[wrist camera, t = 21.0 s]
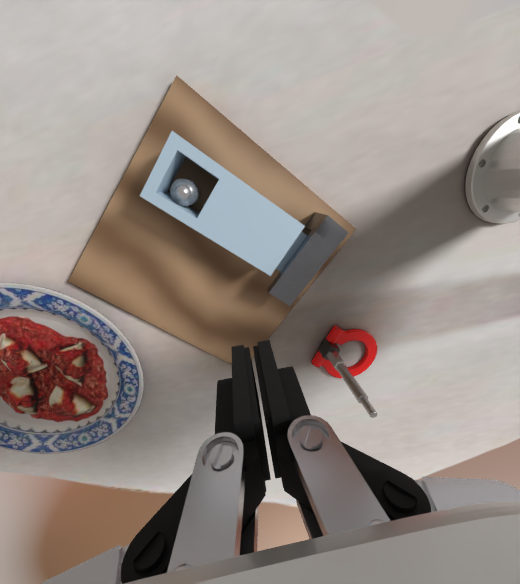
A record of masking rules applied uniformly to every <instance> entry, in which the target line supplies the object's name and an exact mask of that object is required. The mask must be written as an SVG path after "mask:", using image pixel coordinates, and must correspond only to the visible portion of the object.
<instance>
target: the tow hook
mask: <svg viewBox="0 0 520 584" xmlns="http://www.w3.org/2000/svg"><path fill="white" fill-rule="evenodd" d="M352 340H358V341H361V342H363V343H364V344H365V347H366V350H365V354H364V356H363V358H362V359H361V360H360V361H359V363H357V364H356V365H354V366H352V367H348V368H347V367H346V364H345V362H344V361H343V360H342V358H341V357H340V356H339V354H338V353H339V351H340V349H339V348H338V346H337V345H336V344H335V343H337V344H340V345H342V344H344V343H346V342H348V341H352ZM376 354H377V345H376V341H375V340H374V338H373V337H372V336H371V335H370V334H369V333H367V332H366V331H363V330H360V329H351V330H346V331H344V330H342V329H341V328H340V327H338V326H335V325H334V326H333V328H332V330H331V331H330V333H329V334H328V336H327V338H325V339H324V341H323V342H322V344H321V346H320V347H319V349H318V352H317V353H316V355H315V357H314V358H313V360H312V361H311V362H312V364H313V365H314V366H316V367H320V366H323V367H324V368H325V369H326V370H327V372H328V373H329V374H330V375H332V376H334V377H337V378H343V379H344V381H345V382H346V384H347V386H348V387H349V389H350V390H351V392H352V393H353V395H354V396H355V398H356V399H357V401H358V402H359V403H362V405H363V406H364V408H365V409H366V411H367V412H368V414H369V415H370V417H372V418H374V417H376V416H377V412H376V411H375V409H374V408H373V407H372V405H371V404H370V402H369V401H368V396H367V395H366V393H365V392H364V391H363V389H362V388H361V387H360V385H359V384H358V382H357V381H356V380H355V378H354V376H356V375H358V374H360V373H362V372H363V371H365V370H366V369H367V368H368V367H369V366H370V365H371V364H372V362H373V361H374V359H375V356H376Z"/></svg>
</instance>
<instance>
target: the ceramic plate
mask: <svg viewBox="0 0 520 584" xmlns="http://www.w3.org/2000/svg"><path fill="white" fill-rule="evenodd" d="M143 384H144V381H143V372H142V368H141V365H140V362H139V358H138V356H137V354H136V352H135V350H134V348H133V347H132V345H131V344H130V342H129V341H128V339H127V338H126V337H125V335H124V334H123V333H122V332H121V331H120V330H119V329H118V328H117V327H116V326H115V325H114V324H113V323H112V322H111V321H110V320H109V319H107V318H106V317H105V316H103V315H102V314H101V313H99V312H98V311H96V310H95V309H93V308H92V307H90V306H88V305H86V304H85V303H83V302H81V301H79V300H77V299H75V298H72V297H70V296H68V295H65V294H62V293H60V292H57V291H54V290H50V289H47V288H43V287H38V286H33V285H28V284H19V283H0V447H3V448H6V449H10V450H15V451H22V452H29V453H40V454H44V453H63V452H72V451H76V450H80V449H84V448H88V447H91V446H94V445H97V444H99V443H101V442H103V441H105V440H107V439H109V438H110V437H112V436H114V435H115V434H117V433H118V432H119V431H120V430H122V429H123V428H124V427H125V426H126V425H127V424H128V423H129V421H130V420H131V419H132V418H133V416H134V415H135V413H136V411H137V409H138V407H139V405H140V402H141V399H142V394H143Z"/></svg>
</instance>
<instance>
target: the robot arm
mask: <svg viewBox="0 0 520 584" xmlns="http://www.w3.org/2000/svg"><path fill="white" fill-rule="evenodd" d="M465 186H466V197H467V202H468V204H469V206H470V209H471V210H472V211H473V213H474V214H475V215H476V216H477V217H479V218H480V219H482V220H484V221H487V222H492V223H498V224H501V223H511V222H515V221H518V220H520V111H518V112H516V113H513V114H511V115H509V116H508V117H506V118H504V119H503V120H501V121H500V122H499V123H498V124H496V125H495V126H494V127H493V128H492V129H491V130H490V131H489V132H488V133H487V135H486V136H485V137H484V138H483V139H482V141H481V142H480V144H479V146H478V147H477V149H476V150H475V153H474V155H473V157H472V159H471V161H470V164H469V168H468V171H467V176H466V182H465ZM231 350H232V378H229V379H224V380H218V383H217V400H216V421H215V435H213V436H211V437H210V438H209V439H207V440H206V441H205V442H204V444H203V445H202V446H201V447H200V450H199V452H198V455H197V459H196V462H195V466H194V470H193V474H192V475H191V476H190V477H189V478H188V479H187V480H186V481H185V482H184V483H183V485H182V486H181V487H180V488H179V489H178V490H177V491H176V492H175V493H174V494H173V496H172V497H171V498H170V499H169V500H168V501H167V502H166V503H165V504H164V505H163V506H162V508H161V509H160V510H159V511H158V512H157V513H156V514H155V515H154V516H153V518H151V520H150V521H149V522H148V523H147V524H146V525H145V526H144V527H143V528H142V529H141V531H140V532H139V533H138V534H137V535H136V536H135V538H134V539H133V541H132V542H131V543H130V544H129V545H127V546H125V547H123V548H122V547H121V546H120V545H118V546H116V547H114V548H112V549H110V550H108V551H106V552H104V553H102V554H100V555H98V556H96V557H94V558H92V559H89V560H88V561H85V562H83V563H81V564H79V565H77V566H75V567H73V568H71V569H69V570H67V571H65V572H63V573H61V574H59V575H57V576H55V577H53V578H51V579H49V580H47V581H45V582H43V583H41V584H520V491H519V490H518V489H516V488H515V487H513V486H511V485H509V484H506V483H504V482H501V481H496V480H489V479H462V478H437V477H423V479H422V481H418V480H413V479H412V478H410V477H409V476H407V475H405V474H404V473H402V472H400V471H398V470H396V469H394V468H392V467H390V466H388V465H386V464H384V463H382V462H380V461H378V460H376V459H374V458H372V457H370V456H368V455H366V454H364V453H362V452H360V451H358V450H356V449H354V448H352V447H350V446H348V445H347V444H345V443H343V442H341V441H340V440H339V439H338V437H337V435H336V434H335V432H334V431H333V429H332V427H331V426H330V425H329V424H328V423H327V422H326V421H325V420H323V419H322V418H320V417H317V416H312V415H311V414H310V412H309V409H308V406H307V403H306V401H305V398H304V395H303V393H302V390H301V387H300V385H299V382H298V379H297V377H296V374H295V371H294V369H293V367H286V368H281V369H277V366H276V362H275V359H274V355H273V352H272V348H271V345H270V341H269V340H266V341H260V342H257V346H253V350H254V356H255V362H256V368H257V374H258V380H259V386H260V392H261V398H262V404H263V410H264V416H265V422H266V428H267V433H268V439H269V445H270V450H271V456H272V462H273V467H274V473H275V478H280V477H281V478H282V483H283V488H284V491H285V492H287V493H288V494H290V495H291V496H292V497H294V498H295V499H296V501H297V506H298V508H299V511H300V514H301V517H302V519H303V522H304V525H305V527H306V530H307V533H308V535H309V540H305V541H301V542H296V543H292V544H288V545H283V546H279V547H275V548H271V549H266V550H262V551H258V552H257V536H258V506H259V504H260V503H261V501H262V499H263V498H264V496H265V492H266V486H265V481H266V480H271V479H270V472H269V465H268V459H267V452H266V445H265V439H264V432H263V425H262V419H261V412H260V406H259V399H258V393H257V388H256V382H255V377H254V371H253V366H252V360H251V355H250V349H249V347H246V348H244V345H238V346H233V347H231Z"/></svg>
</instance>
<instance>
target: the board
mask: <svg viewBox="0 0 520 584" xmlns="http://www.w3.org/2000/svg"><path fill="white" fill-rule="evenodd" d="M171 131H173V132H175V133H176V134H177V135H179V136H180V137H182V138H183V139H184V140H186V141H187V142H189V143H190V144H191V145H193V146H194V147H196V148H197V149H198V150H200V151H201V152H203V153H204V154H205V155H207V156H208V157H210V158H211V159H212V160H214V161H215V162H216V163H218V164H219V165H221V166H222V167H223V168H225V169H226V170H228V171H229V172H230V173H232V174H233V175H235V176H236V177H237V178H239V179H240V180H242V181H243V182H244V183H246V184H247V185H249V186H250V187H251V188H253V189H254V190H255V191H257V192H258V193H260V194H261V195H262V196H264V197H265V198H267V199H268V200H269V201H271V202H272V203H274V204H275V205H276V206H278V207H279V208H281V209H282V210H283V211H285V212H286V213H288V214H289V215H290V216H292V217H293V218H294V219H296V220H297V221H299V222H300V223H301V224H303V225H304V226H305V224H306V223H307V222H308V220H309V219H310V217H311V216H312V215H313V213H314V212H317V213H321V214H325V215H328V216H329V217H331V218H332V219H333V220H334V221H335V222H337V223H338V224H339V225H340V226H341V227H343V228H344V229H345V230H346V231H347V232H349V233H348V234H347V236H346V237H345V238H344V239H343V241H342V242H341V243H340V244H339V246H338V247H337V248H336V249H335V251H334V252H333V253H332V254H331V256H330V257H329V258H328V259H327V261H326V262H325V263H324V264H323V266H322V267H321V268H320V269H319V271H318V272H317V273H316V274H315V276H314V277H313V278H312V279H311V281H310V282H309V283H308V284H307V286H306V287H305V288H304V289H303V291H302V292H301V293H300V294H299V296H298V297H297V298H296V299H295V301H294V302H293V303H292V304H291V306H289V305H287V304H285V303H284V302H282V301H281V300H279V299H278V298H276V297H275V296H273V295H272V294H270V293H269V292H268V290H267V288H268V287H269V286H270V285H271V283H272V282H273V281H274V279H275V278H276V277H277V275H278V274H279V273H280V271H279V270H277V269H275V270H274V272H273V273H272V275H271V276H270V275H268V274H266V273H265V272H263V271H261V270H260V269H258V268H256V267H255V266H253V265H252V264H250V263H248V262H247V261H245V260H243V259H242V258H240V257H238V256H237V255H235V254H234V253H232V252H230V251H229V250H227V249H225V248H224V247H222V246H220V245H219V244H217V243H216V242H214V241H212V240H211V239H209V238H207V237H206V236H204V235H202V234H201V233H199V232H198V231H196V230H194V229H193V228H191V227H189V226H188V225H186V224H184V223H183V222H181V221H180V220H178V219H176V218H175V217H173V216H171V215H170V214H168V213H166V212H165V211H163V210H162V209H160V208H158V207H157V206H155V205H153V204H152V203H150V202H148V201H147V200H145V199H144V198H142V197H140V194H141V192H142V190H143V188H144V186H145V184H146V182H147V180H148V178H149V176H150V174H151V172H152V170H153V168H154V166H155V164H156V162H157V160H158V158H159V156H160V154H161V152H162V150H163V148H164V146H165V144H166V142H167V140H168V138H169V136H170V133H171ZM178 179H188V180H191V181H194V182H195V183H196V184H197V185H198V186H199V188H200V192H201V195H200V198H199V200H198V201H197V202H196V203H194V204H192V205H189V206H190V207H192V208H193V209H195V210H196V211H198V212H201V210H202V209H203V207H204V205H205V203H206V202H207V200H208V198H209V196H210V195H211V193H212V191H213V189H214V188H215V186H216V184H217V182H218V181H219V180H218V179H217V178H216V177H214V176H213V175H211V174H210V173H208V172H207V171H205V170H204V169H203V168H201V167H200V166H198V165H197V164H195V163H194V162H193V161H191V160H190V159H188V158H187V157H186V158H185V159H184V161H183V163H182V165H181V167H180V169H179V171H178V173H177V175H176V177H175V179H174V181H176V180H178ZM174 181H173V182H174ZM173 182H172V184H173ZM172 184H171V185H172ZM170 188H171V186H170ZM170 188H169V190H168V193H170ZM355 230H356V229H355V228H354V227H353V226H352V225H351V224H350V223H348V222H347V221H346V220H345V219H344V218H343V217H341V216H340V215H339V214H338V213H337V212H336V211H334V210H333V209H332V208H331V207H330V206H329V205H327V204H326V203H325V202H324V201H323V200H322V199H320V198H319V197H318V196H317V195H316V194H315V193H313V192H312V191H311V190H310V189H309V188H308V187H306V186H305V185H304V184H303V183H302V182H301V181H299V180H298V179H297V178H296V177H295V176H294V175H292V174H291V173H290V172H289V171H288V170H287V169H285V168H284V167H283V166H282V165H281V164H280V163H278V162H277V161H276V160H275V159H274V158H273V157H271V156H270V155H269V154H268V153H267V152H266V151H264V150H263V149H262V148H261V147H260V146H259V145H257V144H256V143H255V142H254V141H253V140H252V139H250V138H249V137H248V136H247V135H246V134H245V133H243V132H242V131H241V130H240V129H239V128H237V127H236V126H235V125H234V124H233V123H232V122H230V121H229V120H228V119H227V118H226V117H225V116H223V115H222V114H221V113H220V112H219V111H218V110H216V109H215V108H214V107H213V106H212V105H211V104H209V103H208V102H207V101H206V100H205V99H204V98H202V97H201V96H200V95H199V94H198V93H197V92H195V91H194V90H193V89H192V88H191V87H190V86H188V85H187V84H186V83H185V82H184V81H183V80H181V79H180V78H179V77H178V76H176V77H175V79H174V81H173V83H172V85H171V87H170V89H169V91H168V93H167V95H166V96H165V98H164V100H163V102H162V104H161V106H160V108H159V110H158V112H157V113H156V115H155V117H154V119H153V121H152V123H151V125H150V127H149V129H148V131H147V132H146V134H145V136H144V138H143V140H142V142H141V144H140V146H139V148H138V150H137V151H136V153H135V155H134V157H133V159H132V161H131V163H130V165H129V167H128V168H127V170H126V172H125V174H124V176H123V178H122V180H121V182H120V184H119V186H118V187H117V189H116V191H115V193H114V195H113V197H112V199H111V201H110V203H109V205H108V206H107V208H106V210H105V212H104V214H103V216H102V218H101V220H100V222H99V223H98V225H97V227H96V229H95V231H94V233H93V235H92V237H91V239H90V241H89V242H88V244H87V246H86V248H85V250H84V252H83V254H82V256H81V258H80V260H79V261H78V263H77V265H76V267H75V269H74V271H73V273H72V275H71V277H70V278H69V280H68V282H70V283H72V284H74V285H76V286H78V287H80V288H82V289H84V290H86V291H88V292H90V293H92V294H94V295H96V296H98V297H100V298H102V299H104V300H106V301H108V302H109V303H111V304H113V305H115V306H117V307H119V308H121V309H123V310H125V311H127V312H129V313H131V314H133V315H135V316H137V317H139V318H141V319H143V320H145V321H147V322H149V323H151V324H153V325H155V326H157V327H159V328H161V329H163V330H165V331H167V332H169V333H170V334H172V335H174V336H176V337H178V338H180V339H182V340H184V341H186V342H188V343H190V344H192V345H194V346H196V347H198V348H200V349H202V350H204V351H206V352H208V353H210V354H212V355H214V356H216V357H218V358H220V359H222V360H224V361H226V362H228V363H230V364H231V365H232V350H231V347H233V346H238V345H244V348H246V347H249V349H250V355H251V359H252V358H253V357H254V350H253V346H257V342H260V341H266V340H267V339H268V338H269V337H270V335H271V334H272V333H273V332H274V331H275V329H276V328H277V327H278V326H279V324H280V323H281V322H282V321H283V319H284V318H285V317H286V316H287V314H288V313H289V312H290V311H291V309H292V308H293V307H294V306H295V304H296V303H297V302H298V301H299V299H300V298H301V297H302V296H303V294H304V293H305V292H306V291H307V290H308V288H309V287H310V286H311V285H312V283H313V282H314V281H315V280H316V278H317V277H318V276H319V275H320V273H321V272H322V271H323V270H324V268H325V267H326V266H327V265H328V263H329V262H330V261H331V260H332V258H333V257H334V256H335V255H336V254H337V252H338V251H339V250H340V249H341V247H342V246H343V245H344V244H345V242H346V241H347V240H348V239H349V237H350V236H351V235H352V234H353V232H354V231H355ZM302 232H303V233H304V234H306V235H307V236H308V234H309V233H310V231H309V230H308V229H307V228H305V227H304V228H303V230H302Z"/></svg>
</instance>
